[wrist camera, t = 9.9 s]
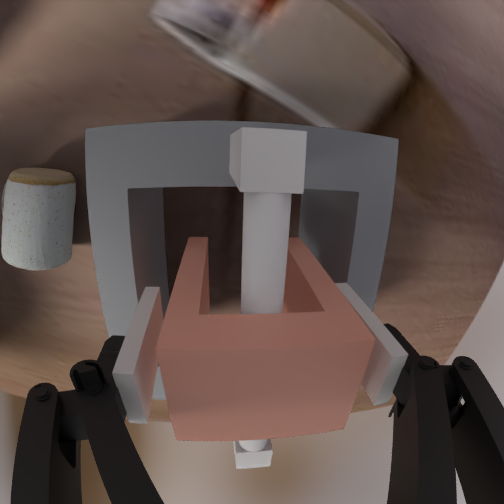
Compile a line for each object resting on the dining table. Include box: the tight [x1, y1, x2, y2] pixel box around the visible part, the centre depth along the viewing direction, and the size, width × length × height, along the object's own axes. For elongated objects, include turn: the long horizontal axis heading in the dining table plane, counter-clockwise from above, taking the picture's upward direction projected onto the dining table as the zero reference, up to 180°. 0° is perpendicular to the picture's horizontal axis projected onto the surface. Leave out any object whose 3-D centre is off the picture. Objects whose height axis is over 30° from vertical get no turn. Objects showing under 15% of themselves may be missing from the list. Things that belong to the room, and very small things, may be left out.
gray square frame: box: [85, 121, 399, 469], centre depth 20 cm, size 18×19×19 cm
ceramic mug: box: [1, 168, 76, 270], centre depth 22 cm, size 11×8×8 cm
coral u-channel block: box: [156, 237, 375, 441], centre depth 15 cm, size 7×5×11 cm
